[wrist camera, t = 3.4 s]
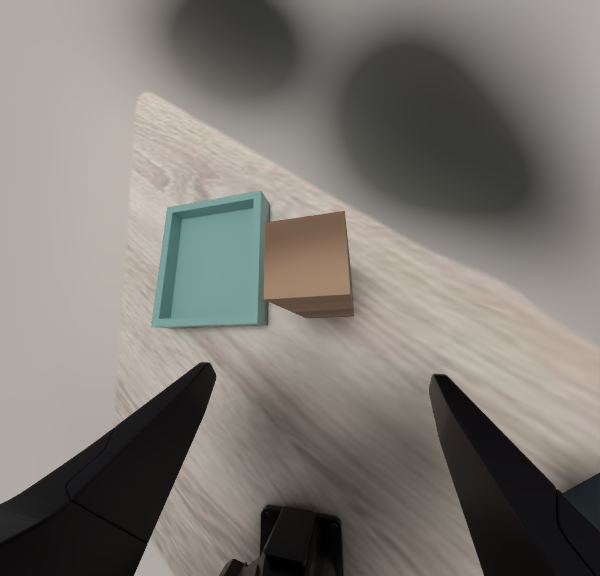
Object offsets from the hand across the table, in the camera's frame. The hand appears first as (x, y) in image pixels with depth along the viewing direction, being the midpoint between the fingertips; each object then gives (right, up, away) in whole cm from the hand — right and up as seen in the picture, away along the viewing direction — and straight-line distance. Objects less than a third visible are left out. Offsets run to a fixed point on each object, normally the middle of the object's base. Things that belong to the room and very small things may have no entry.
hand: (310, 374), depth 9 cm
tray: (-9, +6, +16) cm, 20 cm away
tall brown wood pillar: (+2, +3, +13) cm, 13 cm away
